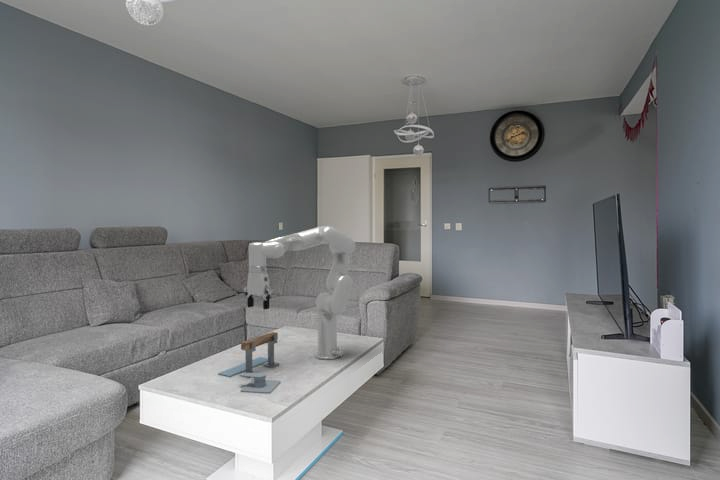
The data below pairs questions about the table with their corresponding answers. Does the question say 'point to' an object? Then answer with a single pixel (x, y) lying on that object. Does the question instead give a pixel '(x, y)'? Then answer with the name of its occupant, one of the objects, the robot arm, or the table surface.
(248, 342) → the rail
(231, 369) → the mat
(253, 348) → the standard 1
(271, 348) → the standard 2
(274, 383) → the shower valve
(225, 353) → the table surface
